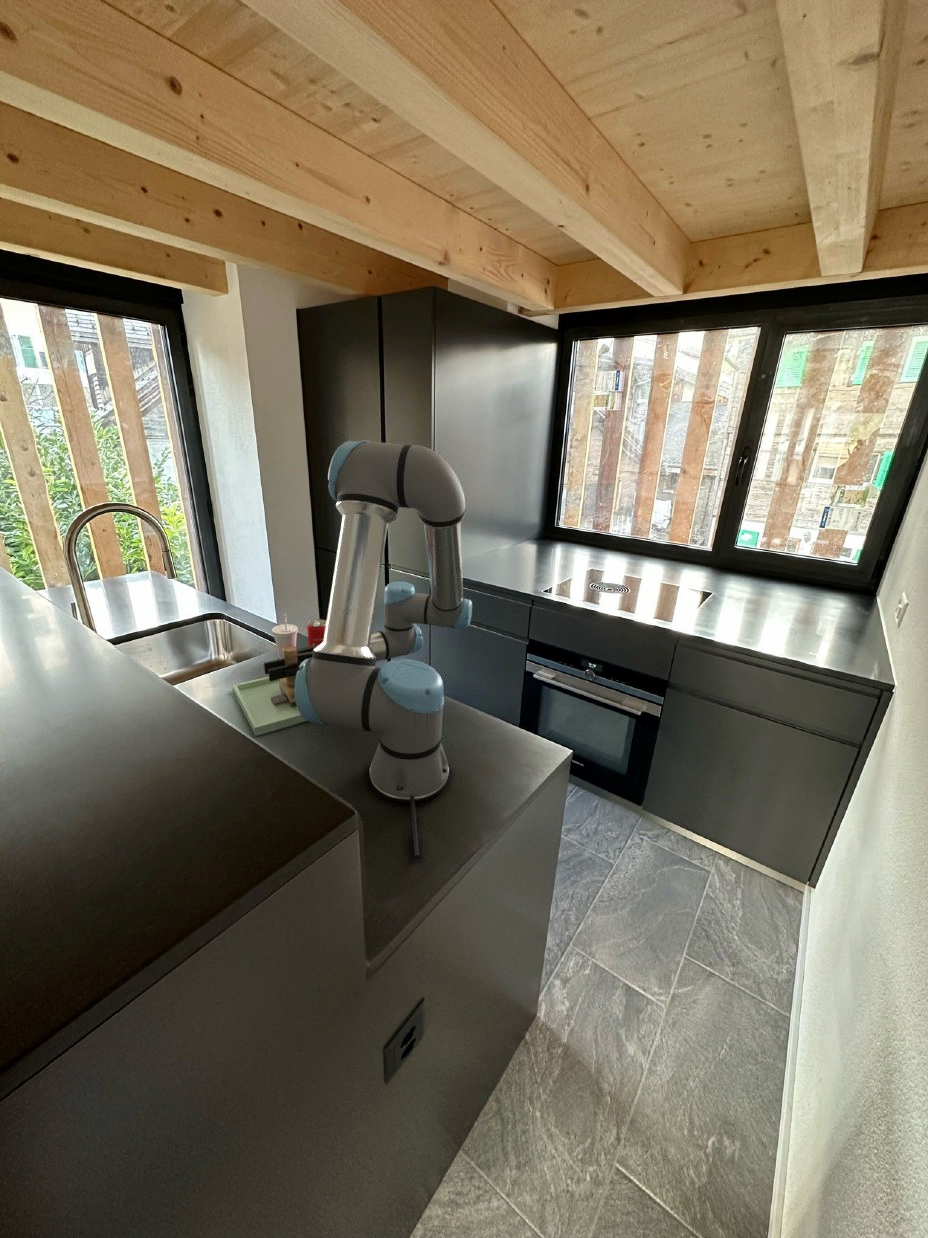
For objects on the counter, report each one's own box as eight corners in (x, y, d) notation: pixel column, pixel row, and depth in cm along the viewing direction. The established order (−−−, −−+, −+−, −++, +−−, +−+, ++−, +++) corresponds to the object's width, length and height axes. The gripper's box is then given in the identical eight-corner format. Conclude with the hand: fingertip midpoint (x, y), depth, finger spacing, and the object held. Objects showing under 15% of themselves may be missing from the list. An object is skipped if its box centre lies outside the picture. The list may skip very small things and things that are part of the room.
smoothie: (284, 669, 134) (280, 620, 128) (270, 661, 138) (265, 613, 132) (305, 661, 139) (301, 613, 133) (290, 653, 142) (286, 606, 137)
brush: (308, 702, 119) (305, 654, 114) (291, 707, 117) (287, 658, 112) (296, 684, 126) (292, 638, 121) (279, 688, 124) (275, 642, 119)
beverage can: (332, 659, 140) (330, 619, 136) (325, 668, 136) (323, 627, 131) (313, 657, 141) (311, 617, 136) (306, 666, 136) (303, 625, 131)
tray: (331, 713, 117) (330, 706, 117) (255, 736, 108) (254, 728, 108) (302, 675, 132) (301, 668, 131) (233, 692, 123) (232, 685, 122)
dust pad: (287, 702, 119) (287, 699, 119) (274, 706, 118) (274, 703, 117) (283, 696, 122) (283, 693, 121) (270, 700, 120) (270, 697, 120)
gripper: (377, 676, 124) (278, 703, 111) (351, 650, 135) (258, 671, 123) (377, 649, 121) (275, 673, 108) (350, 624, 132) (255, 642, 120)
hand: (267, 671), depth 115 cm, fingers closed on brush, 3 cm apart
